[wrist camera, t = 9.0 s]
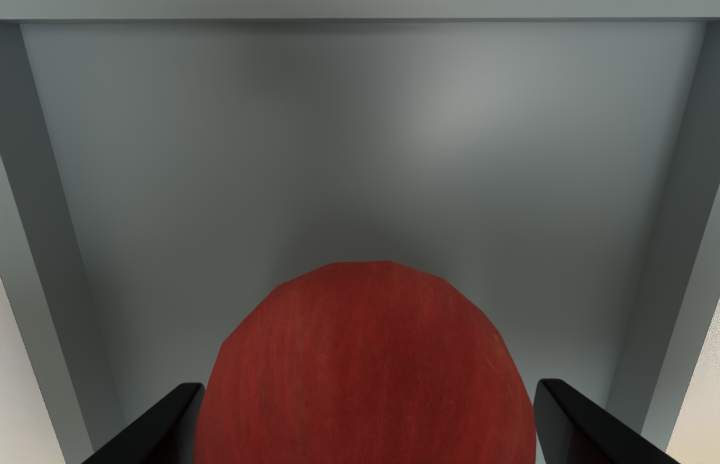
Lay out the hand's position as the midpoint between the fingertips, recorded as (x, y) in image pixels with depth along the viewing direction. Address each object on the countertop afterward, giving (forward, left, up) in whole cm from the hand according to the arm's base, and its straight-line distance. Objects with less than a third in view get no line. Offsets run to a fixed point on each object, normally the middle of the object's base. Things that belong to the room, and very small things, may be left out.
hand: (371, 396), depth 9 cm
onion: (0, 0, -3) cm, 3 cm away
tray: (0, 0, -4) cm, 4 cm away
